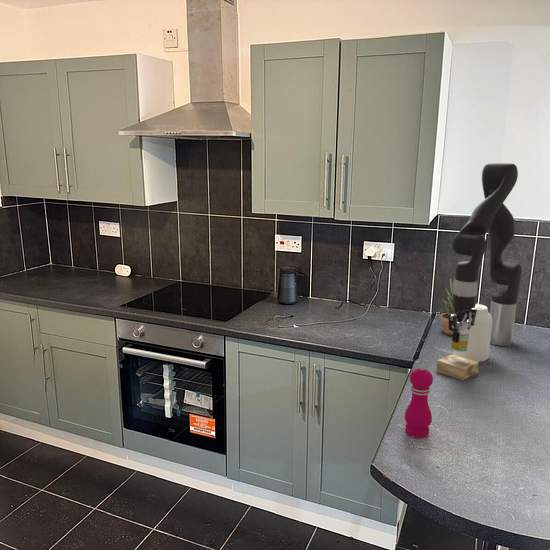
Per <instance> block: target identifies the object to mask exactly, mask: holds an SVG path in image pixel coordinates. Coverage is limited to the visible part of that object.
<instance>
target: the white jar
mask: <svg viewBox="0 0 550 550" xmlns="http://www.w3.org/2000/svg"><path fill="white" fill-rule="evenodd" d="M473 309H477V312H476V317H475V322H474V325H473V326H471V328H470V329H469V343H468V350H467V351H466V352H457V351H454V350H453V353H452V354H456V355H459V356H462V357H465V358H468V359H471V360H474V361H477V362H479V363H481V362H485V361H487V360H488V359H489V355H490V346H491V343H490V339H491V330H492V316H491V315H490V312H489V308H488V306H486V305H484V304H481V303H476V305H475V308H473ZM471 321H472V318H471Z"/></svg>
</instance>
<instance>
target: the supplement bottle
mask: <svg viewBox="0 0 550 550" xmlns="http://www.w3.org/2000/svg"><path fill="white" fill-rule="evenodd" d="M457 323H460V322H457ZM457 328H458V325H457ZM467 328H468V323H467V322H464V324H463V326H462V327H461V329H460V335H459V342H458V343H455V342H453V341H452V340H451V350H452V351H453V352H454V351H457V352H466V351H467V350H468V343H469V330H468V329H467Z"/></svg>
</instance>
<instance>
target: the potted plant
mask: <svg viewBox="0 0 550 550" xmlns="http://www.w3.org/2000/svg"><path fill="white" fill-rule="evenodd" d="M449 281H450V291H449V290H448V289H447V287H445V290H446V293H447V300H448V302H447V301H446V300H444V298H442V302H443V303H444V304H445V307H444V308H445V310H446V311H445V313H441V314H440V320H441V323H442V327H443V332H444V334H447V335H451V336H452V335H453V331H450V330H449V321H448V316H449V314H451V315H452V314H454V311H455V307H454V306H453V305H452V299H453V288H454V282H455V278H453V282H452V278H451V277H450V279H449ZM450 292H451V293H450ZM452 326H453V325H452Z"/></svg>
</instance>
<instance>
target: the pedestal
mask: <svg viewBox="0 0 550 550" xmlns="http://www.w3.org/2000/svg"><path fill="white" fill-rule="evenodd" d="M436 362H437V363H436V372H438V373H441V374H444V375H447V376H449V377H452V378H455V379H456V380H460V381H465V380H466V379H468V378H470V377H473V376H475V375H477V374H479V368H480V367H479V365H480V362H477V361H474V360H471V359H468V358H465V357H462V356H459V355H456V354H454V353H452V354H449V355H447V356H445V357H443V358H439V359H437V361H436Z"/></svg>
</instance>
